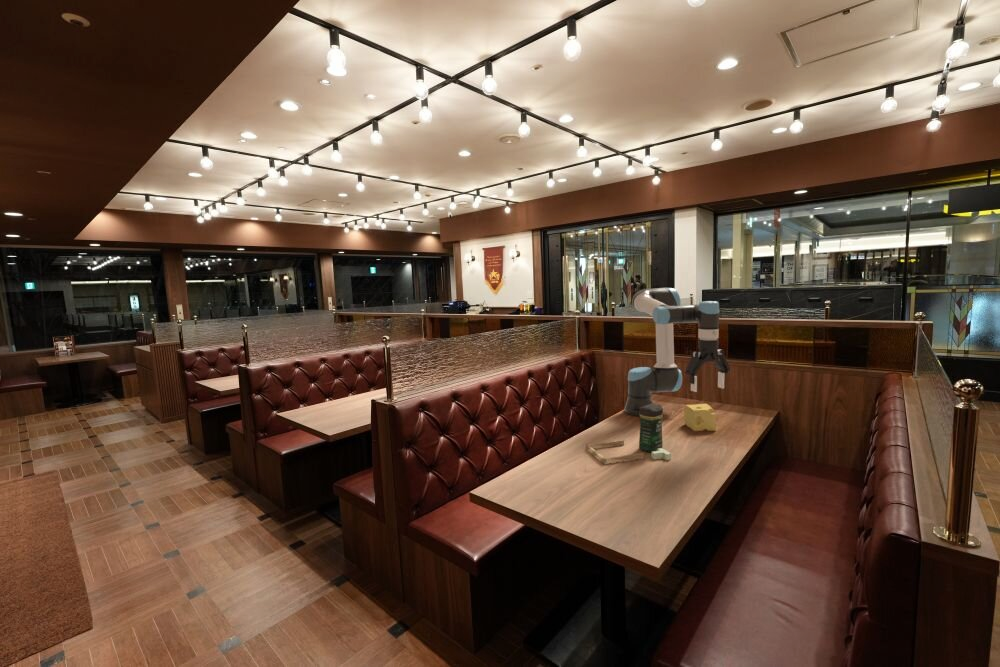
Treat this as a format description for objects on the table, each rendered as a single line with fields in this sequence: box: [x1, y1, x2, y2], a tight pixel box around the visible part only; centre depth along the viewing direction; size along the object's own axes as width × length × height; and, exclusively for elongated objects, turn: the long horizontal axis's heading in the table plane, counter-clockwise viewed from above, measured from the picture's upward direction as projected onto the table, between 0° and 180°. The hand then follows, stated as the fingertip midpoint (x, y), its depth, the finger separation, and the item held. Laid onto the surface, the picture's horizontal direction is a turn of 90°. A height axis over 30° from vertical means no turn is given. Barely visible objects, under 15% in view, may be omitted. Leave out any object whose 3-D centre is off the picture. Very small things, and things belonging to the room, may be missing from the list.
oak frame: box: [585, 439, 644, 465], centre depth 175 cm, size 16×17×2 cm
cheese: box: [683, 403, 717, 432], centre depth 201 cm, size 10×11×10 cm
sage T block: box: [650, 447, 672, 461], centre depth 170 cm, size 6×6×2 cm
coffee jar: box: [638, 402, 664, 453], centre depth 178 cm, size 10×8×19 cm
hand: (707, 389), depth 180 cm, fingers open, 13 cm apart
